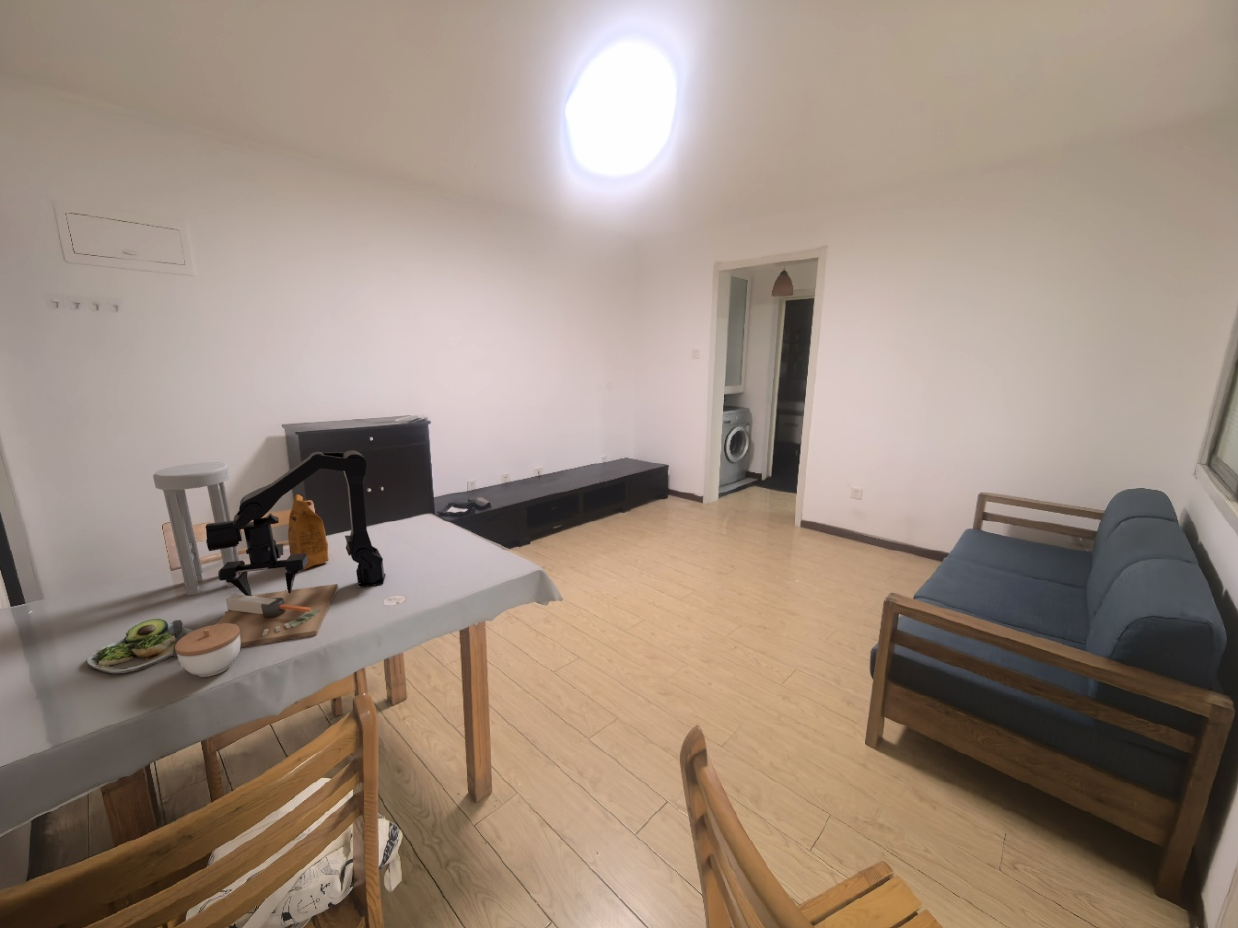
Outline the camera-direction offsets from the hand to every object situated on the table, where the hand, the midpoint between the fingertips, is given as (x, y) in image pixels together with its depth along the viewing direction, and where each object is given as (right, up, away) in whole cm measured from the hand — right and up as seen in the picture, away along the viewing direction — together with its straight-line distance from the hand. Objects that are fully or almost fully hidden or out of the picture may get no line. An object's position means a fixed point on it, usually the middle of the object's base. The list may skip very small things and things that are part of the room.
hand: (270, 595), depth 130 cm
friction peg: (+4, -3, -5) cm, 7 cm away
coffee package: (-7, +3, +27) cm, 28 cm away
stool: (-26, 0, +14) cm, 29 cm away
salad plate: (-16, -8, -18) cm, 25 cm away
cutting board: (+5, -5, -5) cm, 8 cm away
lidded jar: (+5, -10, -24) cm, 26 cm away
